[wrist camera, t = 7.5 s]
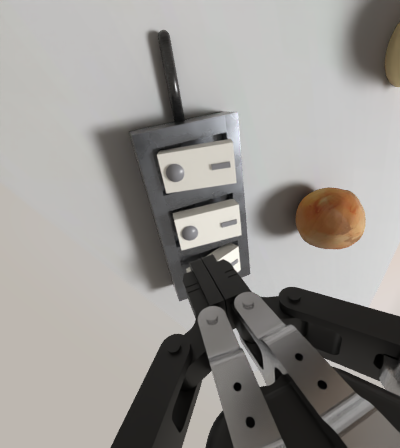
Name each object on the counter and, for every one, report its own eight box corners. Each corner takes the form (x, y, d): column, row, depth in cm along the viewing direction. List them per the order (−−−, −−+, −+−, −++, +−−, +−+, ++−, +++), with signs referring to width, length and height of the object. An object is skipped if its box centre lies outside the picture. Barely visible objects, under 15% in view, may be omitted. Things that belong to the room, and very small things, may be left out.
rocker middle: (233, 198, 30) (239, 205, 29) (236, 227, 33) (242, 235, 31) (172, 213, 30) (174, 220, 28) (179, 242, 32) (181, 251, 30)
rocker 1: (230, 138, 26) (233, 142, 24) (234, 177, 28) (236, 183, 26) (159, 150, 27) (156, 155, 25) (168, 187, 29) (166, 193, 27)
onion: (339, 189, 43) (396, 209, 34) (310, 237, 46) (357, 267, 37) (302, 172, 38) (358, 190, 30) (273, 226, 41) (316, 257, 33)
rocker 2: (228, 241, 36) (239, 246, 34) (231, 264, 38) (241, 270, 36) (186, 269, 32) (195, 276, 30) (191, 292, 34) (201, 300, 32)
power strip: (214, 25, 26) (230, 13, 23) (238, 260, 42) (250, 274, 38) (101, 39, 23) (101, 28, 20) (173, 284, 39) (179, 301, 36)
